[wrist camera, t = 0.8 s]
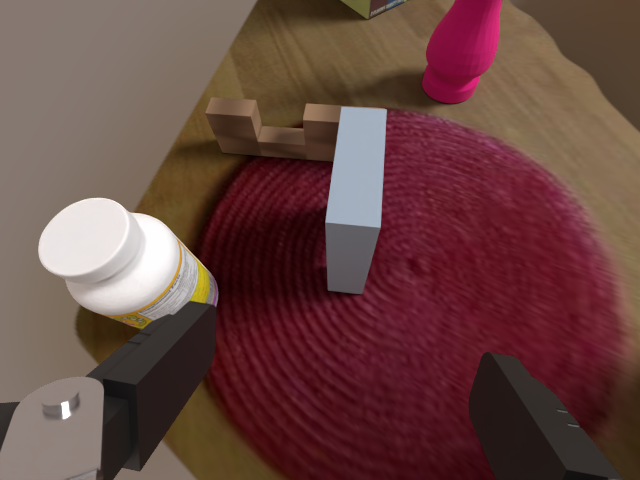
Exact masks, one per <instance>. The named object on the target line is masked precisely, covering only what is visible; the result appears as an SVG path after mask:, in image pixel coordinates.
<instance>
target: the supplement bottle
mask: <svg viewBox="0 0 640 480" xmlns="http://www.w3.org/2000/svg"><path fill="white" fill-rule="evenodd" d="M38 252H39V258H40V261H41V263H42V264H43V266H44V267H45V268H46V269H47V270H49V271H50V272H51V273H53V274H56V275H57V276H60V277H62V278H64V279H65V280H66V285H67V288H68V290H69V292H70V294H71V295H72V297H73V298H74V299H75V300H76V301H77V302H78V303H79V304H80V305H82V306H83V307H85V308H86V309H89V310H91V311H93V312H96V313H98V314H101V315H104V316H107V317H109V318H112V319H115V320H117V321H120V322H123V323H125V324H128V325H130V326H133V327H136V328H138V329H141V330H142V329H143V328H144V327H145V326H147V325H148V324H149V323H150V322H151V321H154V320H156V319H158V318H160V317H163V316H165V315H167V314H172V315H174V314H175V313H176V312H177V311H178V310H179V309H180V308H182V307H183V306H184V305H185V304H186V303H187V302H189V301H195V302H201V303H207V304H212V305H215V307H216V305H217V302H218V287H217V283H216V281H215V279H214V277H213V276H212V274H211V273H210V272H209V271H208V270H207V269H206V268H205V266H204V265H203V264H202V263H201V262H200V261H199V260H198V259H197V258H196V257H195V256H194V255H193V254H192V253H191V252H190V251H189V250H188V249H187V248H186V247H185V245H184V244H183V243H182V242H181V241H180V240H179V239H178V238H177V237H176V236H175V235H174V234H173V232H172V231H171V230H170V229H169V228H168V227H167V226H166V225H165V224H164V223H162V222H161V221H159V220H158V219H156V218H154V217H152V216H148V215H145V214H139V213H129V212H128V211H127V210H126V209H125V208H124V207H122V206H121V205H120V204H118V203H117V202H115V201H113V200H109V199H106V198H90V199H85V200H82V201H79V202H76V203H74V204H72V205H70V206H68V207H67V208H65V209H64V210H62V211H61V212H60V213H58V214H57V215H56V216H55V217H54V218H53V219H52V220H51V221H50V223H49V224H48V225H47V226H46V228H45V230H44V231H43V233H42V235H41V238H40V241H39V247H38Z"/></svg>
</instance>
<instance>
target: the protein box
mask: <svg viewBox="0 0 640 480" xmlns="http://www.w3.org/2000/svg"><path fill="white" fill-rule="evenodd" d="M340 1H342V2H343V3H345V4H346V5H348V6H349V7H350V8H352V9H353V10H355V11H356V12H358V13H359V14H360V15H362V16H363V17H365V18H366V19H370V18H372V17H374V16H376V15H378V14H380V13H383V12H385V11H387V10H389V9H391V8H393V7H395V6H397V5H399V4H401V3H403V2H405V1H407V0H340Z"/></svg>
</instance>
